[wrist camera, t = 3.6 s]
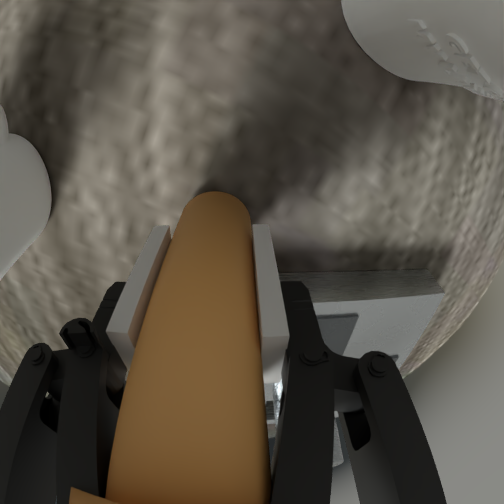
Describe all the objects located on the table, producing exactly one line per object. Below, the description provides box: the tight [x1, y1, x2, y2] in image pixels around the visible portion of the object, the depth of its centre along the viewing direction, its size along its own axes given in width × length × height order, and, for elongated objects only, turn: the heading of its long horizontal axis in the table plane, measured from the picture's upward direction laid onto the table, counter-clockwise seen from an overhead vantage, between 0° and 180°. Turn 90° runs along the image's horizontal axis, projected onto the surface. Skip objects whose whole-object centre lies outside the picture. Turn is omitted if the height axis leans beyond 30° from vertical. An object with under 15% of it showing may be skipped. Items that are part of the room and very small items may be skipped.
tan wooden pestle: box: [69, 191, 272, 504], centre depth 9 cm, size 6×6×15 cm
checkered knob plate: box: [264, 269, 445, 467], centre depth 20 cm, size 20×20×11 cm
